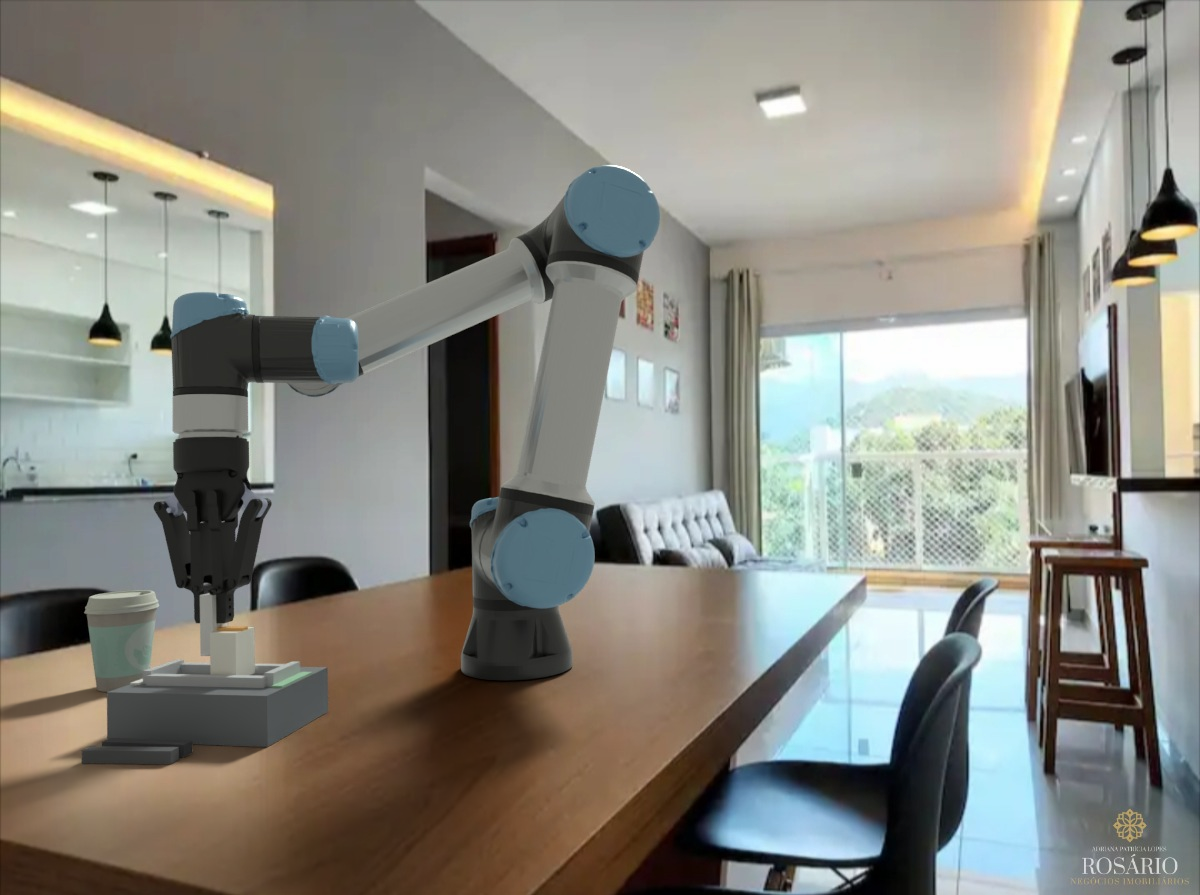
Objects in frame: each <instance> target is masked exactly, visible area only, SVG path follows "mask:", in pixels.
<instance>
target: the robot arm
mask: <svg viewBox="0 0 1200 895" xmlns="http://www.w3.org/2000/svg"><path fill="white" fill-rule="evenodd" d="M660 221H661V211H660V206H659V203H658V200H657V197H656V195H655V193H654V192H653V191H652V190H651V188H650V186H649V185H648V183H647V182H646V181H645V180H644V179H643V178H642V177H641V175H638V174H637V173H635V172H633V170H632V171H631V169H628V168H626V167H623V166H619V165H616V164H615V165H614V164H603V165H601V164H600V165H596V166H594V167H591V168H589V169H587V170H586V171H584V172H583V173H581V174H580V175H578V176H577V177H576V178H575V179H573V180H572V182H571V183H570V184H569V185H568V187H567V190H566V191H565V194H564V195H563V197H562V198H561V199H560V201H559V202H558V204H556V206H555V207H554V209H553V210H552V212H551V213H549V215H548V216H547V217H545V219H543V220H542V221H541V222H540V223H539V224H537V225H536V226H535V227H534V228H532V229H530V230H529V231H527V232H524V233H523V234H521V235H518V236H515V237H513V238H512V239H510V242H509V244H508V247H507V249H505V250H503V251H500V252H498V253H495V254H493V255H491V256H489V257H486V258H483V259H481V260H479V261H476V262H474V263H472V264H470V265H467V266H465V267H463V268H460V269H457V270H455V271H452V272H451V273H449V274H448V273H447V274H446V275H444V276H441V277H439V278H437V279H434V280H432V281H430V282H427V283H425V284H423V285H420V286H418V287H415V288H413V289H411V290H407V291H406V292H404V293H402V294H399V295H396V296H394V297H392V298H390V299H388V300H385V301H383V302H380V303H378V304H375V305H373V306H371V307H369V308H366V309H364V310H362V311H358V312H356V313H354V314H351V315H348V316H347V317H345V318H343V317H332V316H329V315H322V316H289V315H288V316H285V315H283V316H282V315H281V316H280V315H279V316H278V315H274V316H273V315H271V316H270V315H255V314H253V313H252V314H249V313H250V312H249V310H248V308H247V302H246V300H245V299H243V298H242V297H239V296H237V295H234V294H229V293H217V292H211V291H200V292H199V291H197V292H196V291H195V292H188V293H183V294H181V295H179V296H178V297H177V298H176V299H175V300H174V302H173V307H172V308H173V309H172V329H171V334H170V335H169V336H170V342H171V365H172V366H171V369H172V370H171V372H172V432H173V433H174V434H176V435H178V436H179V438H176V439H175V440H174V441H173V442H172V452H173V456H172V457H173V459H172V460H173V464H172V465H173V466H172V467H173V470H174V471H175V473H176V476H177V477H176V481H175V484H174V486H173V493H172V494H171V495H169V497H167V498H166V499H165V500H163V501H162V500H161V501H156V502H155V503H153V510H154V512H155V514H156V516H157V517H158V519H159V521H160V523H161V524H162V528H163V533H164V537H165V541H166V546H167V550H168V555H169V559H170V564H171V568H172V573H173V577H174V580H175V584H176V587H177V588H179V589H185V590H187V591H190V592H191V593H192V594H193V609H194V610H193V618H194V622H195V624H199V628H200V629H199V630H200V631H199V636H200V637H199V639H200V640H199V642H200V649H199V650H200V657H210V633H211V632H215V631H217V628H219V627H222V626H229V623H231V622H233V620H234V618H235V608H234V607H235V591H236V590H237V589H239V588H242V587H244V586H248V585H249V584H250V583H251V582H252V577H253V572H254V568H255V563H256V558H257V553H258V548H259V543H260V538H261V533H262V528H263V523H264V519H265V518H266V517H267V514H268V513H269V511H270V509H271V507H272V505H273V504H272V500H271V499H270V498H268V497H266V498H262V497H260V496H259V495H258V494H256V493H255V492H254V491H252V485H251V482H250V481H249V479H248V471H249V469H250V441H248V439H247V438H244V437H243V436H244V434H247V433H248V432H249V391H248V389H249V383H256V384H264V383H265V384H266V383H267V384H268V383H271V384H274V383H276V384H288V386H289V387H290V388H291V389H292V391H295V393H298V394H300V395H304V396H307V397H310V398H311V397H312V398H319V397H323V396H325V395H326V396H327V395H329V394H331V393H333V392H334V391H336V390H337V389H338V387H339V386H342V385H343V384H346V383H347V384H348V383H353V382H356V380H358V378H359V377H361V376H363V375H365V374H368V373H369V372H371V371H375V370H376V369H378V368H381V367H383V366H385V365H387V364H390V363H392V362H395V361H396V360H397V361H398V359H401V358H404V357H406V356H408V355H410V354H412V353H414V352H417V351H419V350H422V349H424V348H426V347H428V346H430V345H432V344H435V343H437V342H439V341H441V340H444V339H446V338H448V337H451V336H452V335H455V334H458V333H460V332H463V331H464V330H466V329H468V328H471V327H474V326H475V325H478V324H479V323H483V322H484V321H487V320H489V319H491V318H493V317H495V316H498V315H500V314H502V313H505V312H507V311H510V310H511V309H513V308H515V307H518V306H521V305H523V304H524V303H525V304H526V303H527V302H529V301H530V302H533V303H535V304H537V305H540V304H544V303H546V302H548V301H551V303H550V308H549V312H548V318H547V323H546V329H545V333H544V336H543V337H544V338H543V341H542V342H543V343H542V348H541V352H540V358H539V362H538V366H537V367H538V369H537V371H536V376H535V382H534V386H533V387H534V388H533V392H532V396H531V401H530V406H529V412H528V417H527V420H526V424H525V425H526V426H525V431H524V436H523V441H522V445H521V449H520V450H521V451H520V455H519V460H518V465H517V470H516V473H515V475H514V476H512V477H511V478H510V479H508V480H507V481H505V482H504V483H502V484H501V485H500V491H499V495H498V496H497V497H489V498H484V499H480V500H478V501H476V502H475V503H474V504H473V506H472V508H471V519H470V521H469V527H470V529H471V565H472V567H471V569H472V571H471V572H472V573H471V574H472V616H471V620H470V623H469V626H468V630H467V633H466V637H465V641H464V643H463V645H462V646H463V647H462V650H461V654H460V663H461V664H460V666H461V667H460V668H461V669H460V671H461V672H462V674H464V675H465V676H468V677H471V678H473V679H474V678H475V679H479V680H488V681H523V680H534V679H541V678H547V677H550V676H556V675H560V674H561V673H564V672H567V671H569V670H570V669H572V667H573V664H574V663H573V662H574V661H573V648H572V645H571V641H570V639H569V636H568V633H567V630H566V626H565V624H564V621H563V619H562V615H561V613H560V609H559V608H560V607H559V606H561V605H564V604H566V603H568V602H570V601H571V600H573V599H574V598H575V597H576V596H578V595H579V593H580V592H581V591H582V590H583V589H584V587H586V585H587V584H588V582H589V580H590V578H591V576H592V573H593V570H594V566H595V558H596V557H595V553H596V552H595V546H594V542H593V539H592V536H591V533H590V530H591V525H592V519H593V515H594V509H595V505H596V504H595V502H594V500H593V498H592V497H591V495H590V494H589V492H588V490H587V486H586V485H587V482H588V481H587V480H588V474H589V470H590V465H591V461H592V455H593V451H594V444H595V440H596V439H595V438H596V435H597V430H598V423H599V419H600V414H601V410H602V403H603V399H604V393H605V387H606V383H607V380H608V379H607V378H608V374H609V368H610V363H611V357H612V353H613V347H614V342H615V337H616V333H617V326H618V322H619V318H620V311H621V306H622V302H623V301H624V300H625V299H627V297H629V296H631V295H633V294H634V293H635V292H636V290H637V287H638V281H639V277H640V272H641V267H642V262H643V257H644V252H645V251H646V250H647V249H648V248H650V246H651V245H652V244H653V242H654V240H655V237H656V235H657V233H658V231H659V227H660V223H661V222H660ZM240 510H241V511H242V514H241V516H240V519H239V511H240ZM184 512H185V513H186V515H185V513H184ZM236 529H237V534H236Z"/></svg>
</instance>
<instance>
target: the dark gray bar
mask: <svg viewBox="0 0 1200 895" xmlns="http://www.w3.org/2000/svg"><path fill="white" fill-rule="evenodd" d="M179 760H180V757H179V747H124V746H102V745H100V746H98V745H97V746H96V745H95V746H94V745H93V746H92V745H90V746H88V747H86V748H84V749H82V750H81V764H114V765H115V764H116V765H117V764H119V765H120V764H122V765H123V764H124V765H130V764H132V765H134V764H135V765H172V764H174V763H176V762H177V761H179Z"/></svg>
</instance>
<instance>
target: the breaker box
mask: <svg viewBox="0 0 1200 895" xmlns="http://www.w3.org/2000/svg"><path fill="white" fill-rule="evenodd" d="M328 673H329V672H328V667H327V666H320V667H319V666H301V661H290V662H287V663H256V662H255V673H254V674H251V675H210V662H194V661H193V662H189V661H188V662H187V661H186V662H185V660H184V659H174V660H172V661H168V662H165V663H162V664H159V665H157V666H152V667H150V669H147V670H144V671H143V679H140V680H137V681H134V682H131V683H130V684H129V685H126V686H124V687H121V688H118V689H115V690H112V691H109V692H106V733H107V734H106V738H107V739H109V738H131V739H161V740H191V741H192V745H201V746H204V745H205V746H228V747H230V746H233V747H258V748H259V747H260V748H261V747H262V748H269V747H270V746H272V745H273V744H275V743H277V742H278V741H281V740H282V739H284V738H285V737H287V736H289V735H291V734H292V733H294V732H296V731H297V730H299V729H301V728H303V727H305V726H306V725H308V724H309V723H311V722H313V721H315V720H316V719H319V717H322V716H323V715H325V714H327V713H328V712H329V676H328ZM107 739H106V740H107Z"/></svg>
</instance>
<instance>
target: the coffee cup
mask: <svg viewBox="0 0 1200 895" xmlns="http://www.w3.org/2000/svg"><path fill="white" fill-rule="evenodd" d="M158 607H160V604H159V599H157V595H156V593H155V590H154V591H153V590H144V589H143V590H142V589H141V590H122V591H112V592H111V591H110V592H104V593H98V594H94V595H91V596H89V597H88V601H87V604H86V606H85V607H84V609H85V610H84V612H83V613H84V614H85V615H86V618H87V627H88V633H89V642H90V648H91V650H90V651H91V656H92V663H93V671H94V677H95V678H94V679H95V685H96V690H97V691H99V692H102V693H107V692H109V691H112V690H115V689H118V688H121V687H124V686H126V685H129V684H130V683H131V682H134V681H137V680H140V679H143V671H144V670H147V669H150V668H151V663H152V653H153V644H154V636H155V627H156V620H157V619H156V618H157V610H158Z"/></svg>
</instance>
